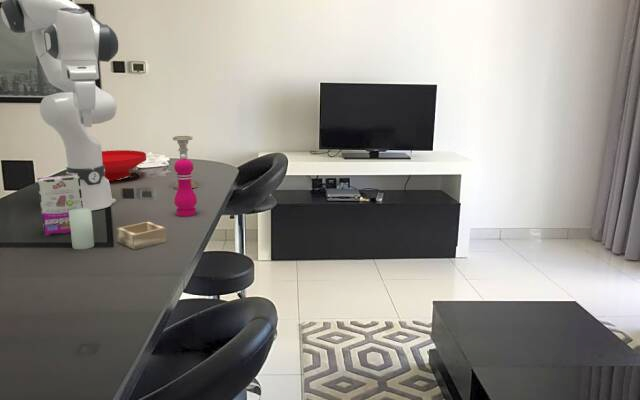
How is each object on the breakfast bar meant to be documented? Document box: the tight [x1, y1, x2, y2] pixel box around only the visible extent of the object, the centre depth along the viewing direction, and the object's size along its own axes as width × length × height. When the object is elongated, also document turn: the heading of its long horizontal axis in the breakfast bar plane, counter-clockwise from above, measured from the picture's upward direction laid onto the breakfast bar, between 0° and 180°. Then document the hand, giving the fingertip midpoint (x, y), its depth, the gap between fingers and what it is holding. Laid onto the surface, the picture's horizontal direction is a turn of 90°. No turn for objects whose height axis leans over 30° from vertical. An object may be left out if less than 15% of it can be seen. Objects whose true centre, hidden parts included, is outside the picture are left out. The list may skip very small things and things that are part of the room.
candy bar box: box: [36, 175, 83, 237], centre depth 161 cm, size 11×5×16 cm, turn 117°
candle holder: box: [172, 135, 197, 190], centre depth 218 cm, size 9×9×20 cm
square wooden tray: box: [116, 220, 167, 250], centre depth 153 cm, size 10×10×4 cm
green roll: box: [69, 208, 95, 250], centre depth 149 cm, size 6×6×10 cm
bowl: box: [102, 149, 147, 182], centre depth 235 cm, size 30×30×10 cm
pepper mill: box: [174, 154, 198, 217], centre depth 180 cm, size 7×7×20 cm
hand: (86, 125), depth 147 cm, fingers open, 8 cm apart
